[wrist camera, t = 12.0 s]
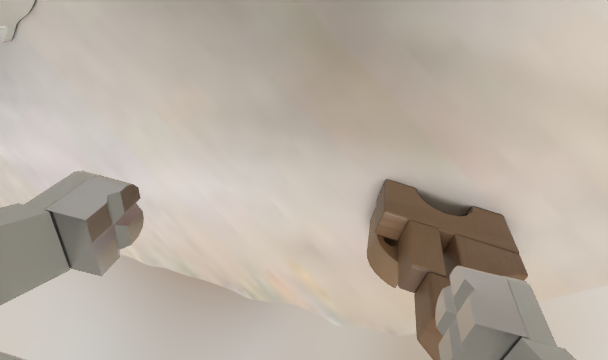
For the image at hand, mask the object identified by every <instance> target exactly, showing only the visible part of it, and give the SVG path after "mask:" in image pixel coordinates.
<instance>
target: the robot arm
mask: <svg viewBox="0 0 608 360" xmlns="http://www.w3.org/2000/svg"><path fill="white" fill-rule="evenodd" d="M34 2H35V0H0V42H7V41H10V40H11V39H12V38H13V35H14V32H15V28H16V24H17V23H18V22H19V21H20V20H21V19H22V18H23V17H24V16H26V15H27V14H28V13H29V11H30V10H31V8H32V7H33V4H34ZM139 199H140V194H139V189H138V187H136V186H135V185H133V184H130V183H126V182H123V181H119V180H115V179H112V178H108V177H104V176H101V175H96V174H92V173H89V172H85V171H77V172H74V173H72V174H71V175H69V176H68V177H66V178H64V179H63V180H61V181H60V182H58V183H57V184H55V185H54V186H52V187H51V188H49V189H47V190H46V191H44V192H43V193H41V194H40V195H38V196H37V197H35V198H34V199H32V200H30V201H29V202H27V203H26V204H24V205H22V204H14V205H10V206H6V207H2V208H0V305H2V304H4V303H6V302H8V301H10V300H12V299H13V298H16V297H18V296H20V295H22V294H24V293H25V292H27V291H29V290H31V289H33V288H35V287H37V286H39V285H41V284H43V283H45V282H47V281H49V280H51V279H53V278H55V277H57V276H59V275H61V274H63V273H65V272H67V271H69V270H70V268H71V269H75V270H79V271H83V272H87V273H91V274H95V275H99V276H102V275H103V274H104V273H105V272H106V271H107V270H108V269H109V268H110V267H111V266H112V265H113V264H114V262H115V261H116V260H117V259H118V258H119V257H120V249H122V248H125V247H127V246H129V245H131V244H132V243H133V242H134V241H135V240H136V239H137V237H138V236H139V233H140V231H141V229H142V227H143V219H144V218H143V211H142V210H141V209H140V208H139V206H138V205H137V204H136V203H137V201H138V200H139ZM449 277H450V283H451V285H449V286H447V287H445V288H443V289H442V291H441V293H440V295H439V297H438V300H437V305H436V312H435V320H436V328H437V329H438V330H439V332H440V333H441V334H442V336H443V338H442V340H441V341H440V343H439V345H438V346H439V354H440V360H576V359H575V358H574V357H573V356H572V355H571V354H570V353H569V352H568V351H567V350H566V349H563V348H560V347H557V345H556V343H555V341H554V338H553V336H552V334H551V331H550V329H549V327H548V325H547V322H546V320H545V318H544V315H543V313H542V311H541V309H540V306H539V304H538V302H537V299H536V297H535V295H534V292H533V290H532V288H531V286H530V285H529V284H528V283H527V282H526V281H523V280H519V279H514V278H510V277H506V276H500V275H496V274H492V273H487V272H483V271H479V270H475V269H471V268H467V267H463V266H459V265H458V266H456V267H455V268H454V269H453V271H452V273H451V274H450V276H449ZM0 360H25V359H22V358H19V357H16V356H12V355H9V354H6V353H3V352H0Z"/></svg>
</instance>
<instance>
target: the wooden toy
mask: <svg viewBox="0 0 608 360" xmlns="http://www.w3.org/2000/svg"><path fill="white" fill-rule="evenodd" d="M367 258H368V261H369V264H370V266H371V267H372V269H373V270H374V272H375V273H376V274H377V275H378V276H379V277H380V278H381V279H382V280H384V281H385V282H386V283H387V284H389V285H390V286H392V287H394V288H396V286H397V284H398V286H399V287H400V288H401V289H404V290H407V291H410V292H413V293H415V313H416V330H417V340H418V341H419V343H420V344H421V345H422V346H423V348H424V349H425V350H426V351H427V353H428V354H429V355H430V356H431V358H432V359H433V360H440V354H439V346H438V345H439V343H440V341H441V340H442V338H443V336H442V334H441V333H440V332H439V330H438V329H437V328H436V320H435V312H436V305H437V300H438V297H439V295H440V293H441V291H442V289H443V288H445V287H447V286H449V285H451V283H450V277H449V276H450V274H451V273H452V271H453V269H454V268H455V267H456V266H458V265H459V266H463V267H467V268H471V269H475V270H479V271H483V272H487V273H492V274H496V275H500V276H506V277H510V278H514V279H519V280H523V281H524V280H525V279H526V278H527V276H528V274H527V271H526V269H525V267H524V264H523V262H522V260H521V257H520V256H519V251H518V249H517V246H516V244H515V242H514V239H513V237H512V235H511V232H510V230H509V228H508V226H507V223H506V221H505V219H504V217H503V216H502V215H499V214H496V213H493V212H490V211H486V210H483V209H480V208H477V207H472V208H471V209H470V210H469V212H468V214H467V215H466V216H455V215H450V214H446V213H444V212H441V211H439V210H437V209H435V208H433V207H432V206H430V205H429V204H427V203H426V202H425V201H424V200H423V199H422V198H421V197H420V196H419V195H418V193H417V190H416V189H415V188H413V187H409V186H406V185H403V184H400V183H396V182H393V181H390V180H386V181H385V182H384V184H383V187H382V189H381V191H380V194H379V196H378V198H377V207H376V209H375V211H374V214H373V216H372V218H371V221H370V230H369V239H368V248H367Z"/></svg>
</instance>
